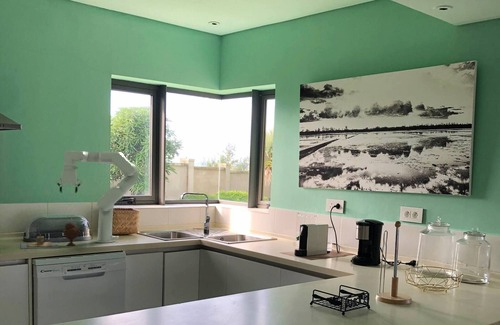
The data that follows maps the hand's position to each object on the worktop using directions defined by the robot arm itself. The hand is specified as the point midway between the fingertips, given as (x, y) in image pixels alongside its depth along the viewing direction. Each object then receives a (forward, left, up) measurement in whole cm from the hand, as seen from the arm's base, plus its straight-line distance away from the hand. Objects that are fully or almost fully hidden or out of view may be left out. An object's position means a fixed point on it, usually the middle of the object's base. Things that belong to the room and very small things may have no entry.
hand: (68, 192), depth 349 cm
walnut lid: (+17, +22, -33) cm, 43 cm away
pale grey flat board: (+17, +22, -33) cm, 43 cm away
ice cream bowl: (-2, +22, -34) cm, 40 cm away
